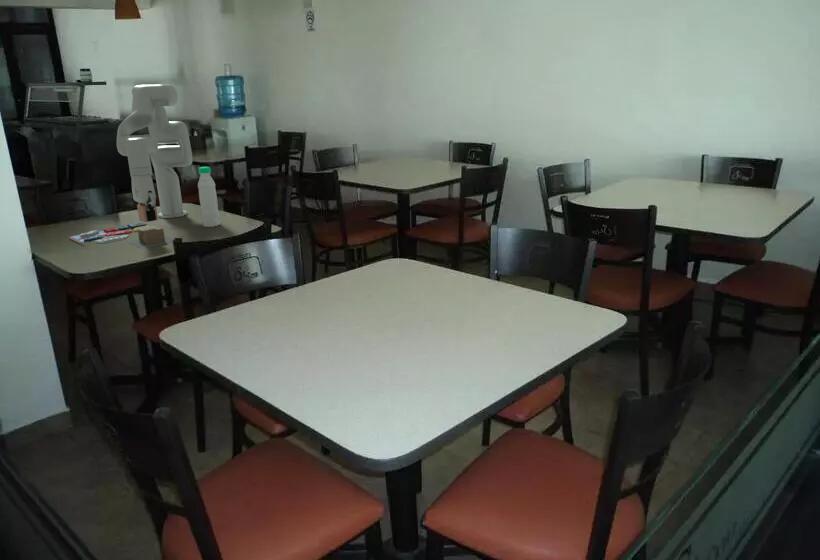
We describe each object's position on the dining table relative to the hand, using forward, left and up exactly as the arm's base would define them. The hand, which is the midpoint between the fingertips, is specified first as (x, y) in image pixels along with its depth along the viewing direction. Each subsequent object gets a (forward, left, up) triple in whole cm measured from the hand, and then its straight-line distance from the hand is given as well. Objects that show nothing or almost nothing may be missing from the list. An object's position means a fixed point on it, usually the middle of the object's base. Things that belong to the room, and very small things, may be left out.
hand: (148, 219), depth 235 cm
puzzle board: (-22, -4, -11) cm, 25 cm away
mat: (0, 0, -10) cm, 10 cm away
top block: (0, 0, -1) cm, 1 cm away
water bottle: (-9, +30, -10) cm, 33 cm away
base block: (0, 0, -9) cm, 9 cm away
